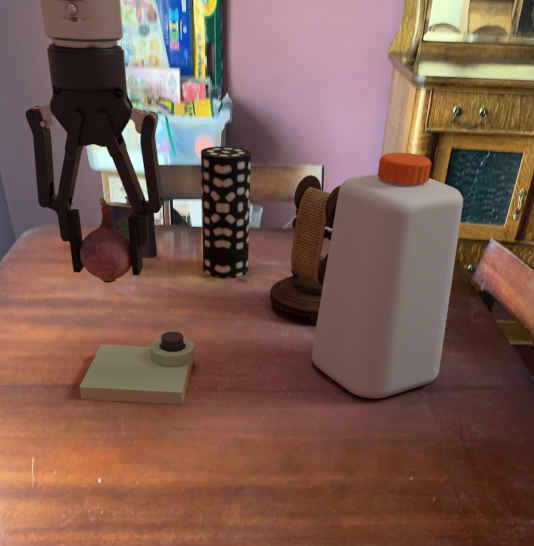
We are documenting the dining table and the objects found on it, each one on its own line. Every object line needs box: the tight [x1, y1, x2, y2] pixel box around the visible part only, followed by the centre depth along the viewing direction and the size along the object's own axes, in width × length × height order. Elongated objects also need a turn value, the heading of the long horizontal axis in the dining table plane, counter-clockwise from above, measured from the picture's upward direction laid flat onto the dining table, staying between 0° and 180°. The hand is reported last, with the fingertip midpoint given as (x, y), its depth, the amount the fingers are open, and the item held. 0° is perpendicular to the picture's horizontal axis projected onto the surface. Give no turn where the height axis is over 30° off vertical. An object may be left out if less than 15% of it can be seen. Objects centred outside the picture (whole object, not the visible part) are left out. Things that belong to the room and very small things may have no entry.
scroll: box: [269, 174, 341, 326], centre depth 106 cm, size 15×15×20 cm
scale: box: [79, 336, 196, 406], centre depth 90 cm, size 13×12×4 cm
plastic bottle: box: [311, 152, 464, 399], centre depth 87 cm, size 15×15×28 cm
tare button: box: [160, 331, 184, 352], centre depth 91 cm, size 3×3×2 cm
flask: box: [107, 195, 158, 259], centre depth 126 cm, size 9×3×11 cm, turn 76°
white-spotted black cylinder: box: [200, 146, 252, 279], centre depth 118 cm, size 8×8×20 cm
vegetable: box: [79, 197, 132, 284], centre depth 79 cm, size 6×6×10 cm
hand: (108, 269), depth 81 cm, fingers closed on vegetable, 6 cm apart
